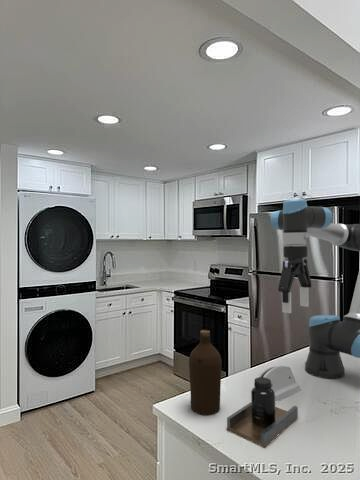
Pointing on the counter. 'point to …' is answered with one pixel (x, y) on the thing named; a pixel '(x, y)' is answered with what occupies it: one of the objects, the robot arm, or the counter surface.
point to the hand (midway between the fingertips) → (296, 309)
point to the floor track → (256, 433)
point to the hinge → (281, 381)
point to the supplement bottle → (263, 402)
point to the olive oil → (205, 376)
